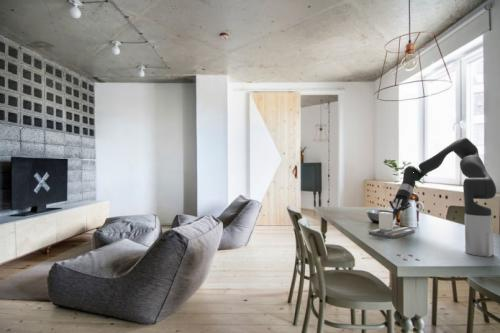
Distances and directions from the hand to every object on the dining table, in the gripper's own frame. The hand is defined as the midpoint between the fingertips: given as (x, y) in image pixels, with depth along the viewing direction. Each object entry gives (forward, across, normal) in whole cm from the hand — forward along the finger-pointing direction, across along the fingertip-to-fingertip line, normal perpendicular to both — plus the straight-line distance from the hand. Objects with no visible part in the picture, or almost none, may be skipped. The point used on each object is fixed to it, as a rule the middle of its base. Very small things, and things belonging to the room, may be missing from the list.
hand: (394, 214), depth 168 cm
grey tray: (+10, 0, -4) cm, 11 cm away
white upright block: (+13, 0, +1) cm, 13 cm away
